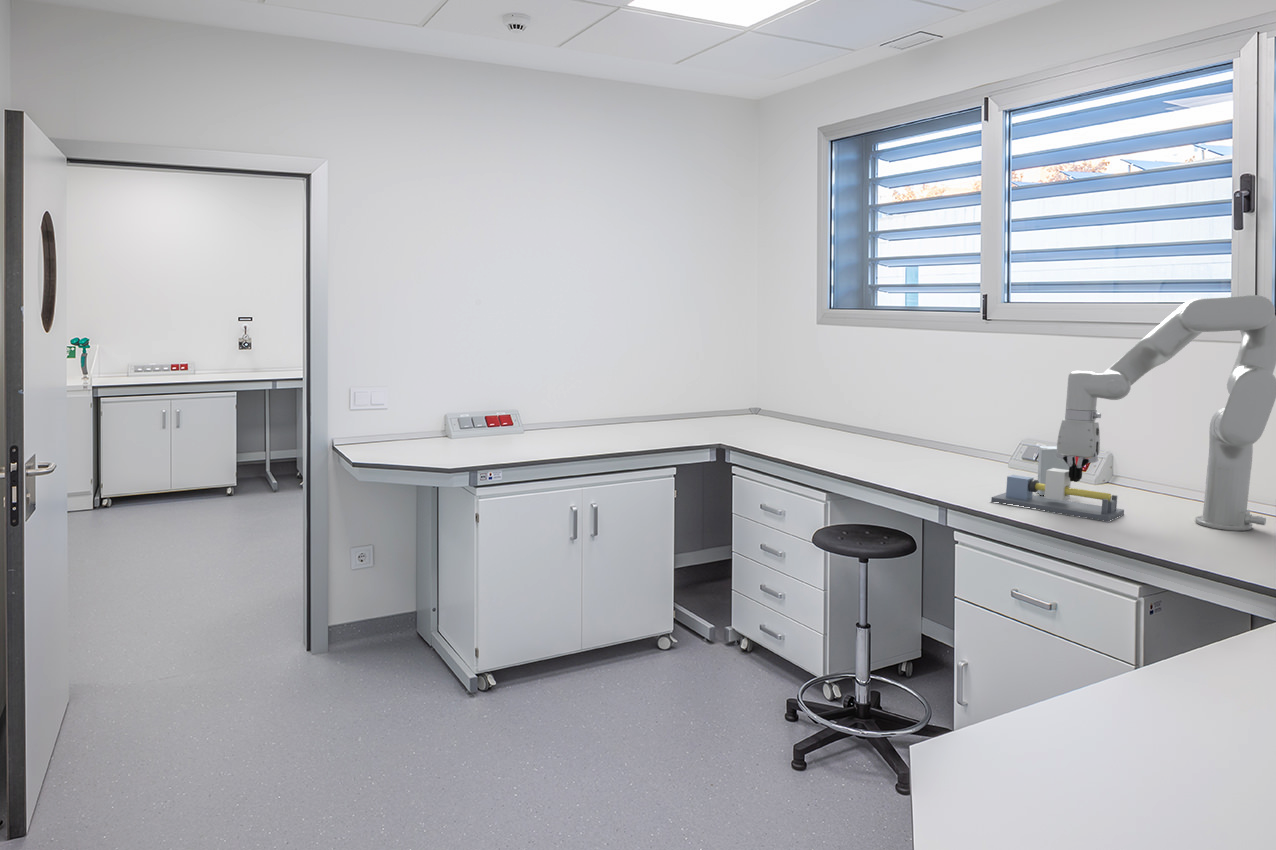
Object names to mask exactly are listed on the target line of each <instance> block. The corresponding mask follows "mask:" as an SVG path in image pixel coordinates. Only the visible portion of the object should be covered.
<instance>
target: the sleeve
mask: <svg viewBox="0 0 1276 850" xmlns="http://www.w3.org/2000/svg"><path fill="white" fill-rule="evenodd" d="M1071 482H1072V481H1070V478H1069V470H1064V469H1056V468H1052V469H1049V470H1046V482H1045V496H1043V497H1044V498H1048V499H1054V500H1060V501H1064V500H1066V501H1067V500H1069V499H1070V496H1071V495H1067V494H1064V493H1065V487H1068V488H1071Z"/></svg>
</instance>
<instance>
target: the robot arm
mask: <svg viewBox="0 0 1276 850" xmlns="http://www.w3.org/2000/svg"><path fill="white" fill-rule="evenodd" d="M1275 310H1276V308H1275V305H1274V304H1273V301H1271V300H1270V299H1269V298H1268V297H1266V296H1263V295H1259V294H1257V295H1256V294H1253V295H1251V294H1249V295H1242V296H1229V297H1214V298H1213V297H1211V298H1208V297H1207V298H1206V297H1205V298H1192V299H1189V300H1187V301H1186V302H1184V303H1182V304H1181V305H1180V306H1178V307H1177V308H1176V310H1174V311H1173V312H1172V313H1171V314H1169V315H1168V316H1167V317H1166V318H1165V319H1164V320H1162V321H1161V322H1160V324H1159V323H1158V325H1157V326H1156V327H1154V328H1153V329H1152V330H1151V331H1150V332H1149V333H1148V334H1146V335H1145V336H1144V337H1143V338H1142V339H1140V340H1139V341H1138V342H1137V344H1135V345H1134V346H1133V347H1132V348H1131V349H1129V351H1127V352H1126V353H1125V354H1123V355H1122V356H1121V357H1120V358H1119V359H1117V360H1116V361H1115V362H1114V363H1113V364H1112V365H1111V366H1110V367H1108V368H1107V369H1106V370H1105V371H1104V372H1102V373H1097V372H1094V371H1091V370H1090V371H1089V370H1073V371H1071V372H1070V373H1069V374H1068V378H1067V386H1066V387H1067V391H1066V398H1065V399H1066V401H1065V411H1064V412H1065V413H1064V415H1065V416H1064V418H1063V419H1062V420H1061V423H1060V427H1059V430H1058V435H1057V441H1056V446H1057V454H1056V457H1057V458H1060V459H1063V460H1064V461H1065V462H1066V463H1067V464H1068V466H1069V478H1070V481H1071V482H1074V483H1078V482H1080V480H1081V479H1082V478H1083V468H1084V467H1085V466H1086V465H1087V464H1089V463H1090V464H1092V463H1097V462H1098V461H1099V459H1098V456H1099V455H1100V448H1101V446H1100V445H1101V444H1100V443H1101V437H1100V436H1101V435H1100V423H1099V421H1097V419H1101V418H1102V414H1101V413H1099V412H1097V403H1098V402H1097V401H1098V398H1099V399H1104V400H1109V401H1120V400H1122V399H1125V397H1127V396H1128V395H1129V393H1130V392H1131V387H1132V385H1134V384H1135V383H1136V382H1138V381H1139V379H1141V378H1142V377H1143V376H1144V375H1146V374H1147V373H1148V372H1150V371H1152V370H1153V369H1154V368H1156V367H1158V366H1161V365H1163V364H1165V363H1166V362H1169V360H1171V359H1172V358H1173V357H1175V356H1176V355H1177V354H1178V353H1179V352H1181V351H1182V350H1183V349H1184V348H1185V347H1186V346H1188V345H1189V344H1190V343H1192V341H1194V339H1197V337H1198V336H1199V335H1201V334H1202V333H1214V332H1215V333H1217V332H1234V331H1239V332H1240V335H1241V342H1240V346H1239V350H1238V354H1237V356H1236V358H1235V362H1234V365H1233V367H1232V370H1231V372H1230V375H1229V377H1228V379H1227V382H1226V389H1227V392H1228V394H1229V396H1228V399H1227V402H1226V404H1225V406H1224V407H1222V408H1219V409H1218V410H1217V411H1216V412H1215V413H1214V414H1213V415H1212V417H1211V419H1210V423H1209V437H1208V438H1209V445H1208V446H1209V448H1208V460H1207V468H1206V469H1207V470H1206V476H1205V477H1206V479H1205V488H1204V489H1205V490H1204V497H1203V498H1204V499H1203V510H1202V515H1198V516H1196V517H1195V520H1194V522H1195V524H1196V523H1197V524H1198V525H1201V526H1204V527H1207V528H1212V529H1217V530H1225V531H1240V532H1243V531H1250V530H1252V529H1253V524H1256V525H1261V526H1266V524H1267V518H1266V517H1263V516H1259V515H1253V514H1251V510H1250V509H1248V502H1249V492H1250V484H1251V483H1250V482H1251V474H1252V473H1251V472H1252V466H1253V465H1252V464H1253V451H1254V450H1253V449H1254V447H1253V445H1254V444H1256V443H1257V442H1258V441H1259V440H1260V438H1261V437H1262V435H1263V433H1264V431H1265V428H1266V426H1267V424H1268V421H1269V418H1270V416H1271V413H1272V410H1273V407H1274V405H1275V402H1276V376H1275V375H1274V372H1275V368H1276V314H1275V313H1276V311H1275ZM1066 455H1067V456H1066ZM1076 458H1078V459H1077V462H1076Z"/></svg>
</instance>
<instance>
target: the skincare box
mask: <svg viewBox="0 0 1276 850" xmlns="http://www.w3.org/2000/svg"><path fill="white" fill-rule="evenodd" d="M1056 454H1057V445H1054V446H1053V445H1047V446H1046V445H1039V446H1038V456H1037V457H1038V458H1037V459H1038V461H1037V462H1038V463H1037V480H1038V481H1039V483H1041V484H1045V482H1046V470H1049V469H1052V468H1056V469H1064V470H1069V466H1068V464H1067V463H1066V462H1065V461H1064V460H1063V459H1060V458H1057V457H1056ZM1066 456H1067V455H1066ZM1036 493H1037V494H1038V493H1039V494H1040V495H1045V491H1041V490H1038V491H1037V492H1036ZM1039 494H1038V495H1039ZM1040 495H1039V496H1040Z"/></svg>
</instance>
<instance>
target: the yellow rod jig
mask: <svg viewBox="0 0 1276 850" xmlns="http://www.w3.org/2000/svg"><path fill="white" fill-rule="evenodd" d="M1034 478H1035V477H1030V476H1024V475H1016V474H1010V475H1008V476H1006V490H1005V492H1002V493H1000V494H997V495H994V496H991V499H990V500H991V501H990V502H991V503H993V502H999V503H1006V504H1013V505H1019V506H1024V507H1030V508H1036V509H1040V510H1045V511H1044V512H1046V511H1049V512H1048V513H1052V512H1055V513H1054V514H1058V513H1062V514H1061V515H1064V514H1067V515H1066V516H1070V515H1074V516H1073V517H1076V516H1080V517H1079V518H1082V517H1087V518H1086V519H1088V518H1093V519H1092V520H1094V519H1099V520H1098V521H1100V520H1104V521H1103V522H1106V521H1110V520H1112V519H1114V520H1116V519H1118V518H1120V517H1122V516H1121V515H1123V516H1124V515H1125V509H1122V508H1118V505H1117V504H1118V495H1115V494H1111V493H1109V492H1100V491H1095V490H1089V489H1088V490H1087V489H1081V488H1074V487H1070V488H1068V487H1065V493H1064V494H1067V495H1070V496H1074V497H1081V498H1088V499H1092V500H1093V499H1094V500H1099V501H1102V502H1101V505H1097V504H1090V503H1085V502H1078V501H1071V500H1067V499H1066V500H1064V501H1060V500H1054V499H1048V498H1044V496H1040V495H1034V494H1033V493H1038V492H1037V491H1038V490H1041V491H1045V484H1041V483H1039V481H1038V479H1034ZM999 503H998V504H999ZM1040 510H1039V511H1040ZM1119 516H1120V517H1119ZM1117 517H1118V518H1117ZM1115 518H1116V519H1115ZM1112 521H1113V520H1112ZM1110 522H1111V521H1110Z"/></svg>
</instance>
